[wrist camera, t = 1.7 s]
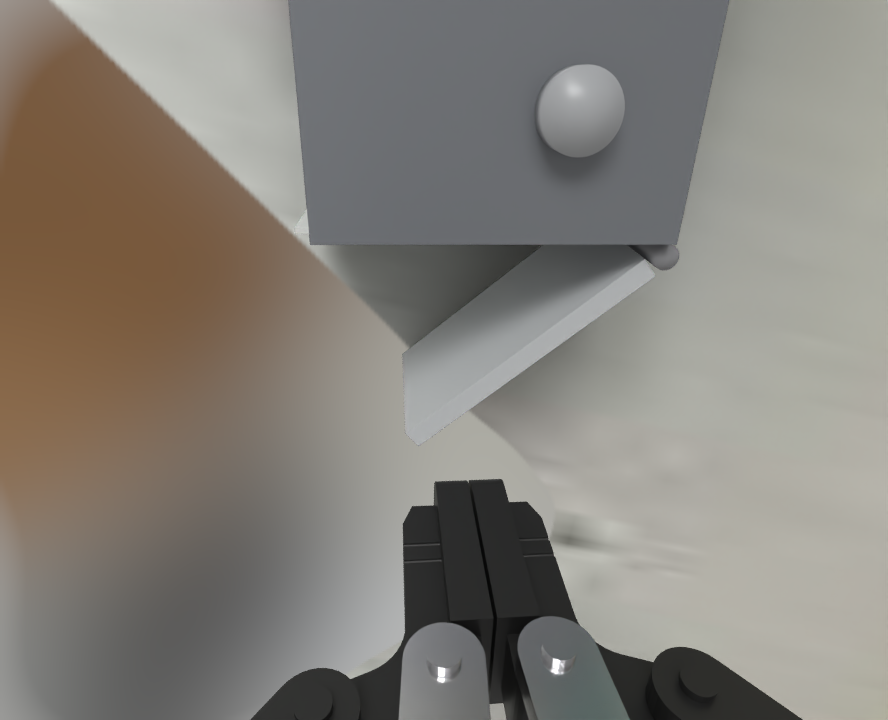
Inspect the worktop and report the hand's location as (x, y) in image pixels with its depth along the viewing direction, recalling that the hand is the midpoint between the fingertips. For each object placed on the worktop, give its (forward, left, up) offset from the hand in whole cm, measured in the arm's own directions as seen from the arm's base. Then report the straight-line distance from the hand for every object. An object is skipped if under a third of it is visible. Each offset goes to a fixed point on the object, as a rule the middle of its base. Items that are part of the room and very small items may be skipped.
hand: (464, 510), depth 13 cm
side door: (+1, +4, -16) cm, 16 cm away
